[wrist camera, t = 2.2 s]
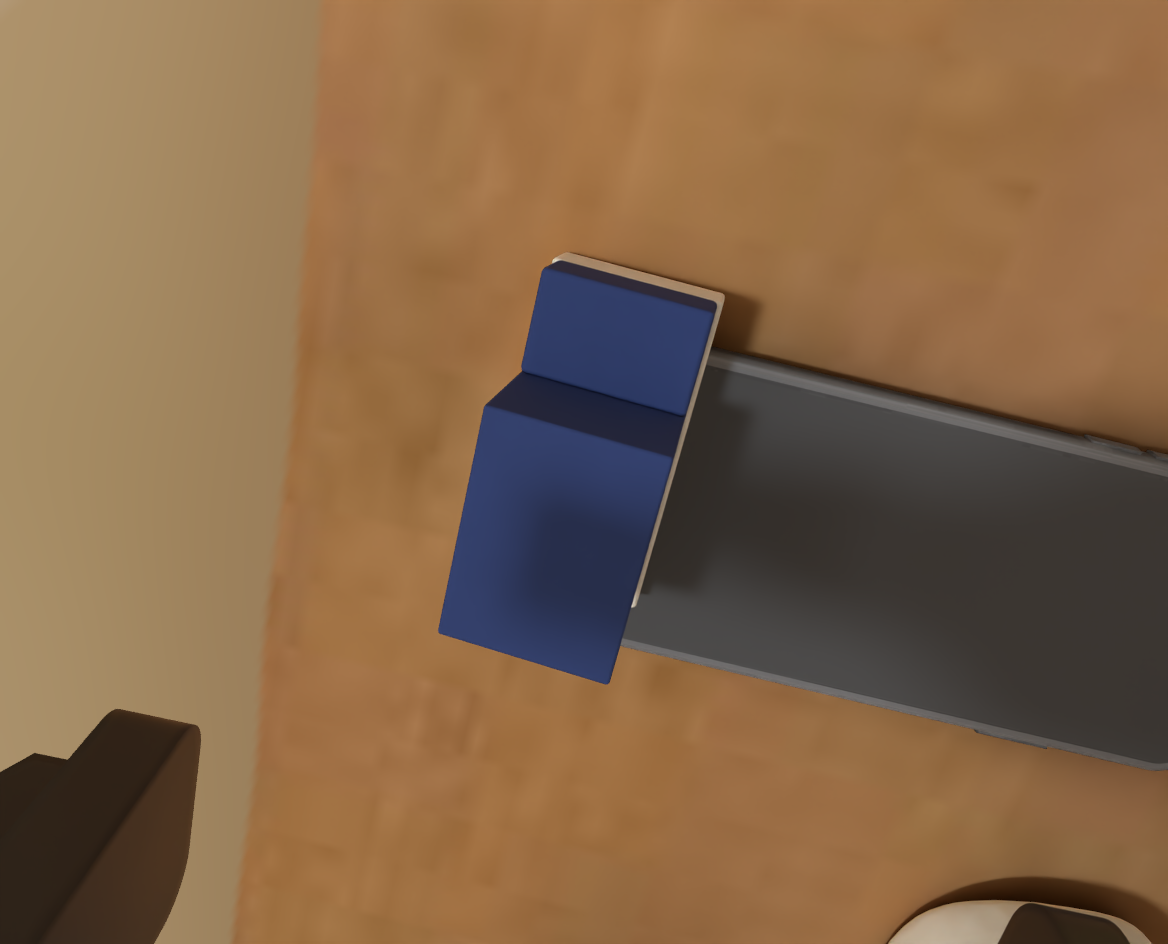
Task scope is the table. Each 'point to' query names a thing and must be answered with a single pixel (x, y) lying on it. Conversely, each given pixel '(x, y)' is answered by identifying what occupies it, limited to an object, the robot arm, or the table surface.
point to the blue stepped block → (578, 465)
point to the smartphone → (916, 560)
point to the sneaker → (982, 923)
